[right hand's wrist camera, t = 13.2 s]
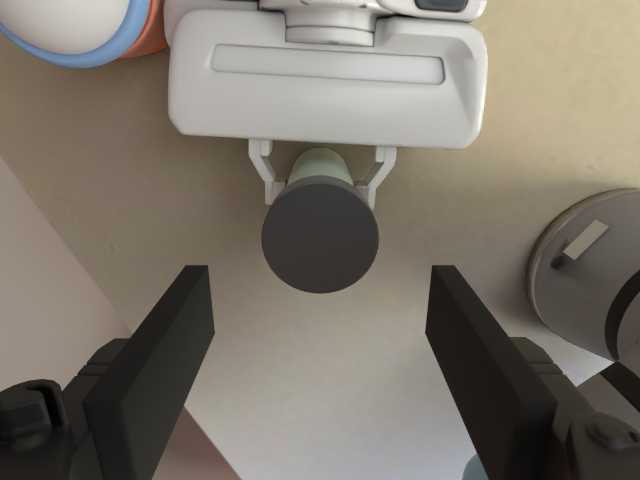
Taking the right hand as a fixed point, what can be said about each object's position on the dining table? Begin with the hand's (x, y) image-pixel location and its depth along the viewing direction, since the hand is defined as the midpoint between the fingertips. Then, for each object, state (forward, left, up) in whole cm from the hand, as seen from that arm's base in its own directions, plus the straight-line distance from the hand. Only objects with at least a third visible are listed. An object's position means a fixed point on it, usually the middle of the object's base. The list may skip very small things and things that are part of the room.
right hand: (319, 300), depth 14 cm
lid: (0, 0, -6) cm, 6 cm away
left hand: (+1, +1, -16) cm, 16 cm away
